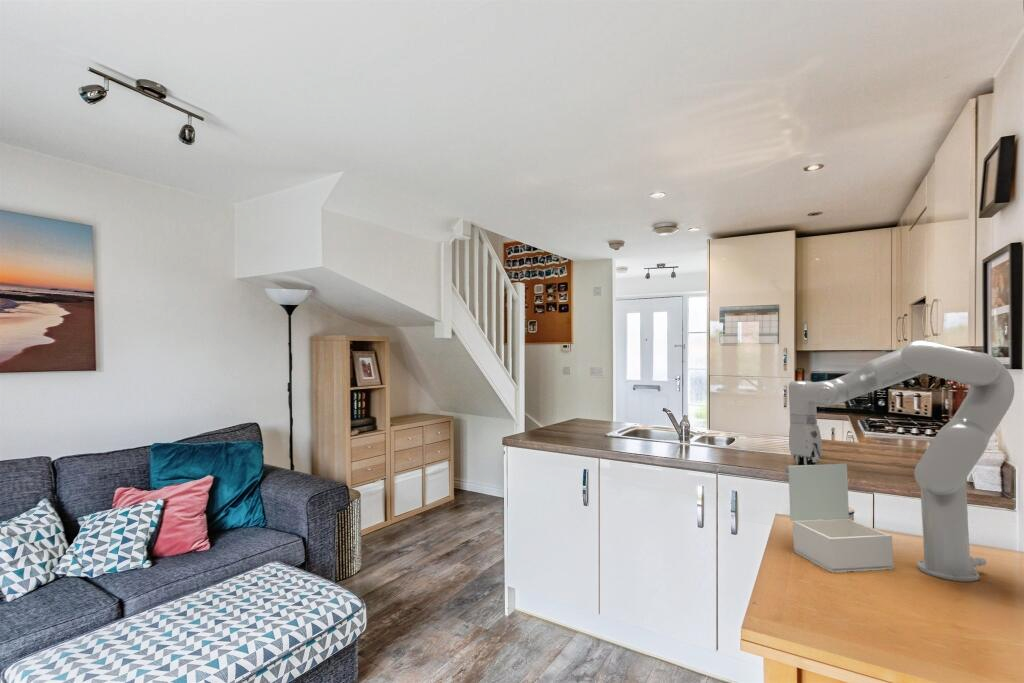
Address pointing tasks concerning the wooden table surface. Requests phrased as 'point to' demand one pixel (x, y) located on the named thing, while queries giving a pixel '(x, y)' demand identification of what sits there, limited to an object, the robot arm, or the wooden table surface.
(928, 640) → the wooden table surface
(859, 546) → the carton
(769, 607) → the wooden table surface
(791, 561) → the wooden table surface
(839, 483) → the carton lid
